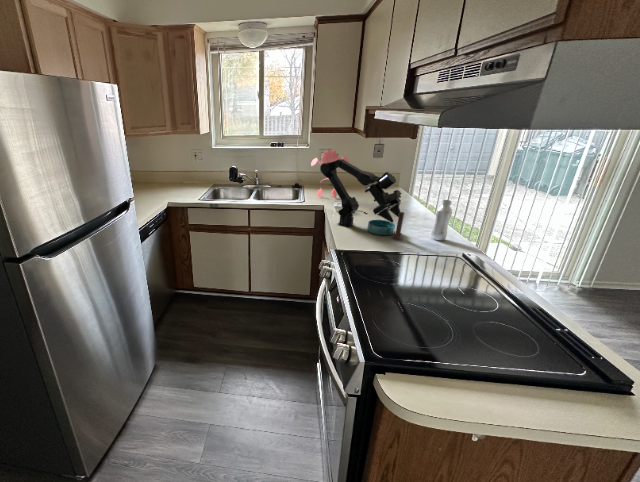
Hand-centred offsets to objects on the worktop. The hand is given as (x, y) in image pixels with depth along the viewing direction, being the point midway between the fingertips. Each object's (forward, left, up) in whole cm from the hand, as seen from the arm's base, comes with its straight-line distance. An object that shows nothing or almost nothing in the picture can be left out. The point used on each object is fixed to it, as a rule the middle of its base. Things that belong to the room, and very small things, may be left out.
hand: (397, 219), depth 159 cm
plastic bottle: (+18, +12, -10) cm, 23 cm away
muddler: (+2, 0, -10) cm, 10 cm away
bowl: (-8, +5, -10) cm, 14 cm away
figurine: (-61, +48, -10) cm, 79 cm away
